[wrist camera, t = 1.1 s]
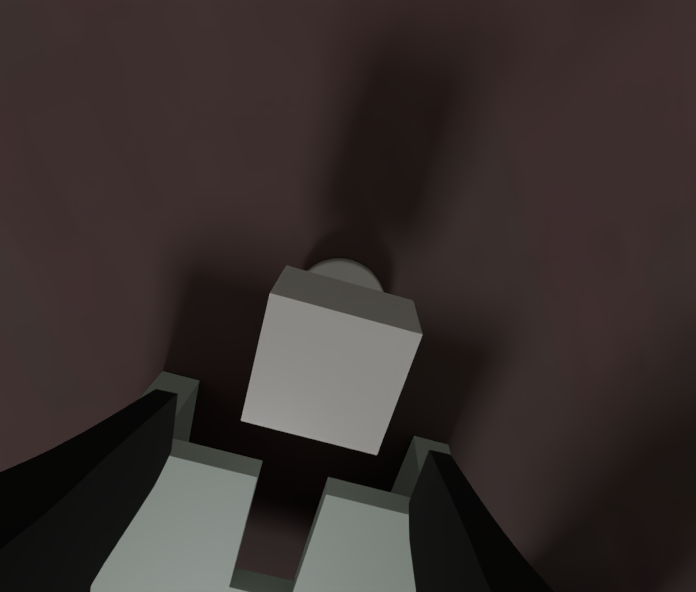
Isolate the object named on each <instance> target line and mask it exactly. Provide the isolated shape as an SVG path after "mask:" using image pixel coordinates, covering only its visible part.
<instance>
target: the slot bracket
mask: <svg viewBox="0 0 696 592" xmlns="http://www.w3.org/2000/svg"><path fill="white" fill-rule="evenodd" d="M198 387H199V380H195V379H191V378H188V377H184V376H180V375H176V374H172V373H168V372H164V371H162V372H161V374H160V375H159V376H158V377H157V378H156V379H155V381H154V382H153V383H152V384H151V385H150V387H149V388H148V389H147V390H146V391H145V392H144V394H143V395H142V396H141V397H143V396H145V395H146V394H148V393H150V392H152V391H153V390H155V389H159V390H164V391H168V392H173V393H177V394H178V397H177V406H176V415H175V424H174V433H173V441H172V450H171V453H170V456H169V458H168V460H167V462H166V464H165V466H164V468H163V470H162V472H161V474H160V476H159V478H158V480H157V482H156V484H155V486H154V487H153V489H152V491H151V492H150V494H149V495H148V497H147V498H146V500H145V502H144V503H143V505H142V506H141V508H140V509H139V511H138V512H137V514H136V516H135V517H134V519H133V520H132V522H131V523H130V525H129V526H128V528H127V529H126V531H125V532H124V534H123V536H122V537H121V539H120V540H119V542H118V543H117V545H116V546H115V548H114V549H113V551H112V552H111V554H110V555H109V557H108V559H107V560H106V562H105V563H104V565H103V566H102V568H101V570H100V571H99V573H98V575H97V576H96V578H95V580H94V581H93V583H92V585H91V591H90V592H416V587H415V580H414V573H413V565H412V558H411V550H410V542H409V501H410V498H411V496H412V493H413V490H414V488H415V485H416V483H417V480H418V477H419V475H420V472H421V470H422V467H423V464H424V462H425V459H426V456H427V454H428V451H429V450H433V451H438V452H442V453H447V454H450V455H451V453H450V449H449V445H448V444H444V443H440V442H436V441H432V440H428V439H424V438H420V437H417V436H414V437H413V439H412V441H411V444H410V446H409V449H408V451H407V454H406V456H405V458H404V461H403V463H402V466H401V468H400V471H399V473H398V476H397V478H396V480H395V483H394V485H393V488H392V490H391V492H387V491H383V490H379V489H374V488H370V487H366V486H362V485H358V484H354V483H350V482H346V481H342V480H338V479H334V478H330V477H328V479H327V482H326V485H325V488H324V491H323V494H322V497H321V500H320V503H319V506H318V508H317V511H316V514H315V517H314V520H313V523H312V526H311V529H310V532H309V535H308V538H307V541H306V544H305V547H304V550H303V553H302V556H301V559H300V562H299V565H298V568H297V571H296V574H295V577H294V580H293V581H290V580H286V579H282V578H277V577H273V576H269V575H265V574H260V573H256V572H252V571H247V570H243V569H239V568H235V565H236V562H237V558H238V554H239V550H240V546H241V542H242V539H243V535H244V531H245V527H246V523H247V519H248V516H249V512H250V508H251V504H252V500H253V496H254V492H255V489H256V485H257V481H258V477H259V473H260V469H261V466H262V462H263V461H262V460H258V459H254V458H250V457H246V456H242V455H238V454H234V453H230V452H226V451H222V450H218V449H214V448H210V447H206V446H202V445H198V444H194V443H190V442H189V437H190V432H191V426H192V421H193V415H194V409H195V404H196V398H197V393H198ZM141 397H140V398H141ZM140 398H139V399H140Z"/></svg>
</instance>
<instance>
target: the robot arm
mask: <svg viewBox="0 0 696 592" xmlns="http://www.w3.org/2000/svg"><path fill="white" fill-rule="evenodd" d="M177 397H178V394H177V393H173V392H168V391H164V390H159V389H155V390H153V391H152V392H150V393H148V394H146V395H145V396H143V397H141V398H140V399H138V400H137V401H135V402H133V403H132V404H130V405H128V406H127V407H125V408H124V409H122V410H120V411H119V412H117V413H115V414H114V415H112V416H110V417H109V418H107V419H105V420H104V421H102V422H100V423H98V424H97V425H95V426H93V427H92V428H90V429H88V430H86V431H85V432H83V433H81V434H79V435H77V436H75V437H74V438H72V439H70V440H68V441H66V442H64V443H62V444H60V445H58V446H57V447H55V448H53V449H51V450H49V451H47V452H45V453H43V454H40V455H38V456H36V457H34V458H32V459H30V460H27V461H25V462H23V463H21V464H18V465H16V466H14V467H12V468H9V469H7V470H5V471H2V472H0V592H88V591H89V589H90V587H91V585H92V583H93V581H94V580H95V578H96V576H97V575H98V573H99V571H100V570H101V568H102V566H103V565H104V563H105V562H106V560H107V559H108V557H109V555H110V554H111V552H112V551H113V549H114V548H115V546H116V545H117V543H118V542H119V540H120V539H121V537H122V536H123V534H124V532H125V531H126V529H127V528H128V526H129V525H130V523H131V522H132V520H133V519H134V517H135V516H136V514H137V512H138V511H139V509H140V508H141V506H142V505H143V503H144V502H145V500H146V498H147V497H148V495H149V494H150V492H151V491H152V489H153V487H154V486H155V484H156V482H157V480H158V478H159V476H160V474H161V472H162V470H163V468H164V466H165V464H166V462H167V460H168V458H169V456H170V453H171V450H172V441H173V433H174V424H175V415H176V406H177ZM409 542H410V550H411V558H412V565H413V573H414V580H415V587H416V592H554V591H553V590H552V589H551V588H550V587H549V586H548V585H547V584H546V583H545V581H544V580H543V579H542V578H541V577H540V576H539V575H538V573H537V572H536V571H535V570H534V569H533V568H532V567H531V566H530V564H529V563H528V562H527V561H526V560H525V558H524V557H523V556H522V555H521V554H520V552H519V551H518V550H517V549H516V547H515V546H514V545H513V543H512V542H511V541H510V540H509V538H508V537H507V536H506V534H505V533H504V532H503V531H502V529H501V528H500V527H499V525H498V524H497V522H496V521H495V520H494V518H493V517H492V516H491V514H490V513H489V511H488V510H487V509H486V507H485V506H484V504H483V503H482V501H481V500H480V498H479V497H478V496H477V494H476V493H475V491H474V490H473V488H472V487H471V485H470V484H469V482H468V481H467V479H466V478H465V476H464V475H463V473H462V471H461V470H460V468H459V467H458V465H457V464H456V462H455V461H454V459H453V458H452V457H451V455H450V454H447V453H442V452H438V451H433V450H429V451H428V454H427V456H426V459H425V462H424V464H423V467H422V470H421V472H420V475H419V477H418V480H417V483H416V485H415V488H414V490H413V493H412V496H411V498H410V501H409Z"/></svg>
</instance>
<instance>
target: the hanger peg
mask: <svg viewBox="0 0 696 592" xmlns="http://www.w3.org/2000/svg"><path fill="white" fill-rule="evenodd" d="M422 335H423V334H422V330H421V327H420V323H419V320H418V316H417V312H416V309H415V305H414V301H413V300H410V299H406V298H403V297H399V296H395V295H392V294H388V293H385V292H383V288H382V286H381V283H380V281H379V280H378V278H377V277H376V275H375V274H374V273H373V272H372V271H371V270H370V269H369V268H367V267H366V266H364V265H363V264H361V263H359V262H356V261H354V260H350V259H345V258H333V259H327V260H324V261H321V262H319V263H317V264H315V265H314V266H312V267H311V268H310V269H308V270H307V271H305V270H301V269H298V268H294V267H291V266H287V265H286V267H285V269H284V270H283V272H282V273H281V275H280V277H279V278H278V280H277V282H276V283H275V285H274V287H273V288H272V290H271V292H270V294H269V299H268V303H267V307H266V312H265V316H264V321H263V325H262V329H261V334H260V338H259V343H258V347H257V351H256V356H255V360H254V365H253V369H252V373H251V378H250V382H249V387H248V391H247V395H246V400H245V404H244V409H243V413H242V417H241V421H243V422H247V423H251V424H255V425H259V426H263V427H267V428H271V429H275V430H279V431H283V432H287V433H291V434H295V435H299V436H303V437H306V438H310V439H314V440H318V441H322V442H326V443H330V444H334V445H338V446H342V447H346V448H350V449H354V450H358V451H362V452H366V453H370V454H374V455H377V454H378V451H379V449H380V446H381V443H382V441H383V438H384V435H385V433H386V430H387V427H388V425H389V422H390V419H391V417H392V414H393V412H394V409H395V406H396V404H397V401H398V398H399V396H400V393H401V390H402V388H403V385H404V383H405V380H406V377H407V375H408V372H409V369H410V367H411V364H412V361H413V359H414V356H415V354H416V351H417V348H418V346H419V343H420V340H421V338H422Z"/></svg>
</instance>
